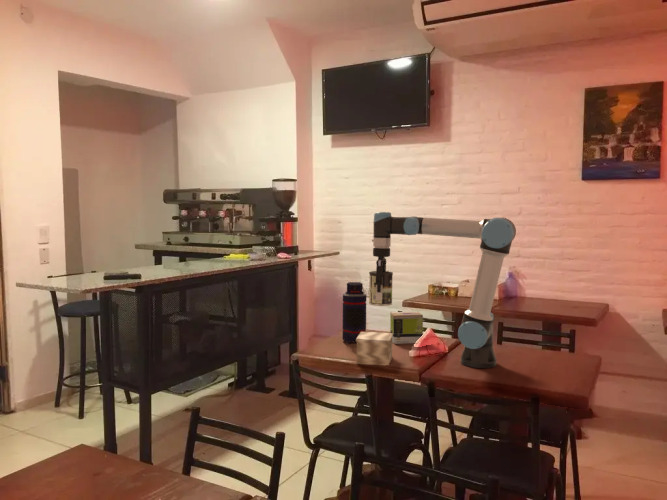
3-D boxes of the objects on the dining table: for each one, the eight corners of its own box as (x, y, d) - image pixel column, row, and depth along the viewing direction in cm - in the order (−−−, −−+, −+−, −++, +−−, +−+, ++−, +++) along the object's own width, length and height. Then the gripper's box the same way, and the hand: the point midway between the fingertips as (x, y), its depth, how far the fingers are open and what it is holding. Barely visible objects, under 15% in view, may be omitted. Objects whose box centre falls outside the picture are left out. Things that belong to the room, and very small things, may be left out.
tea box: (418, 339, 292) (419, 311, 291) (423, 344, 282) (423, 314, 281) (389, 339, 291) (390, 311, 290) (393, 344, 281) (393, 314, 280)
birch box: (392, 357, 256) (393, 333, 256) (389, 365, 242) (389, 340, 241) (360, 355, 259) (361, 331, 258) (355, 363, 245) (355, 338, 244)
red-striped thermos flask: (366, 344, 280) (367, 284, 278) (342, 344, 280) (343, 284, 278) (364, 338, 294) (365, 280, 292) (341, 337, 294) (342, 280, 292)
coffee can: (391, 302, 253) (391, 271, 252) (393, 306, 243) (393, 273, 242) (368, 301, 254) (368, 270, 253) (369, 305, 243) (369, 273, 242)
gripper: (376, 245, 258) (375, 293, 260) (369, 248, 236) (368, 301, 238) (392, 245, 257) (391, 294, 259) (387, 249, 235) (386, 302, 236)
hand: (380, 297), depth 248 cm, fingers closed on coffee can, 10 cm apart
